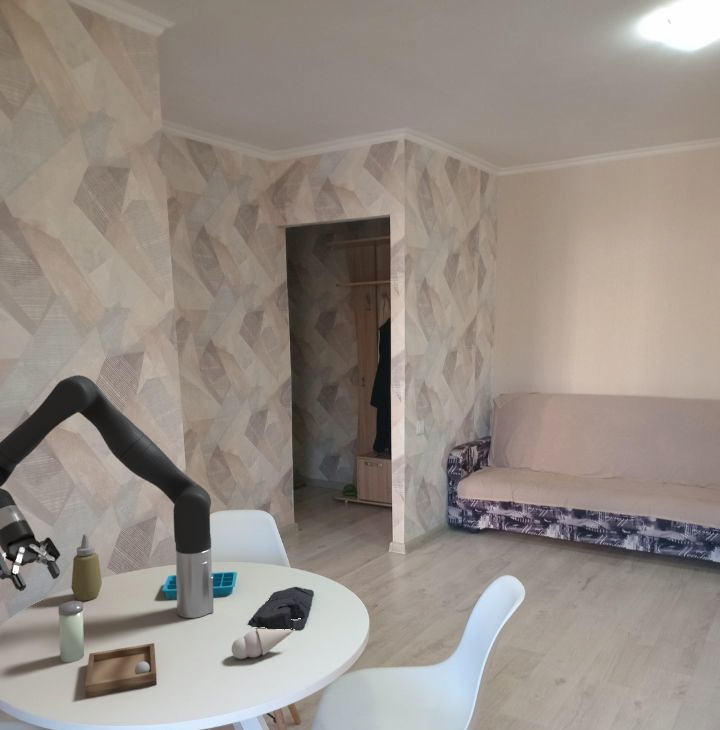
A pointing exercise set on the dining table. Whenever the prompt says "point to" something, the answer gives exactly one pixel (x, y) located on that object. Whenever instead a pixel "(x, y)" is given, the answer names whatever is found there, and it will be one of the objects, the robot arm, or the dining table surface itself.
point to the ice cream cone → (258, 642)
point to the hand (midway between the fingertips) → (40, 582)
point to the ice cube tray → (221, 584)
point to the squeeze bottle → (86, 572)
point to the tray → (119, 670)
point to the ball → (142, 668)
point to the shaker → (71, 631)
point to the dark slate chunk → (284, 609)
